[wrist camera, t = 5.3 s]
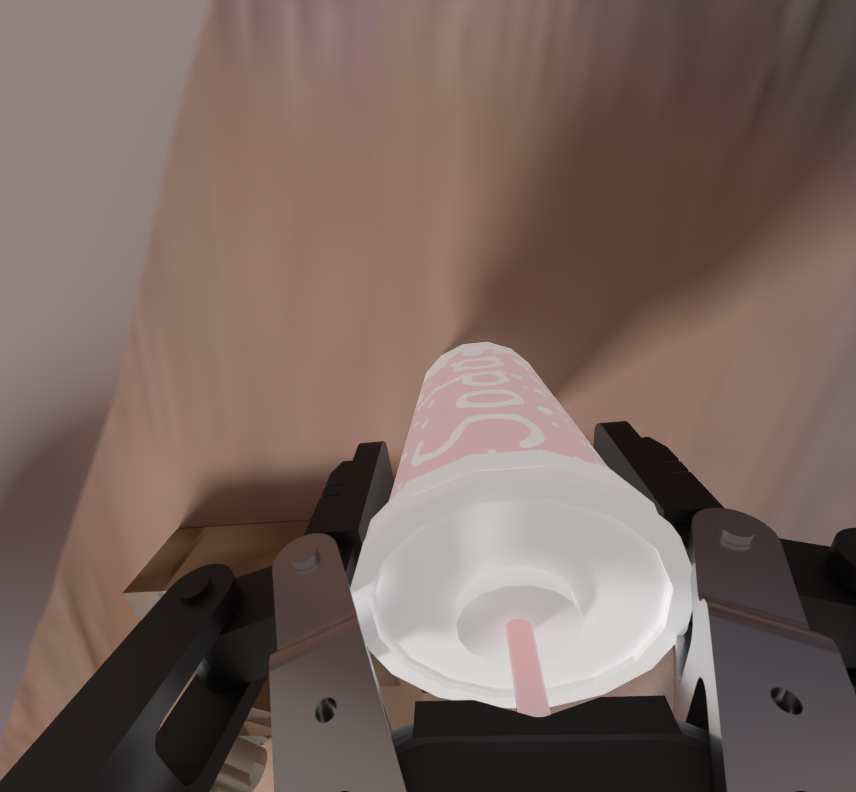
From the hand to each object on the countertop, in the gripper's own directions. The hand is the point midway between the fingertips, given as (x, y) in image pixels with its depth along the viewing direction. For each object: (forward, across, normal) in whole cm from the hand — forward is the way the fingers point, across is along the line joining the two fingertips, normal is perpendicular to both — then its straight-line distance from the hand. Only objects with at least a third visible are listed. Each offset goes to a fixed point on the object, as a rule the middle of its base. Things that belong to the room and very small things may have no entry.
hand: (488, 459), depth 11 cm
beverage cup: (+4, 0, 0) cm, 4 cm away
